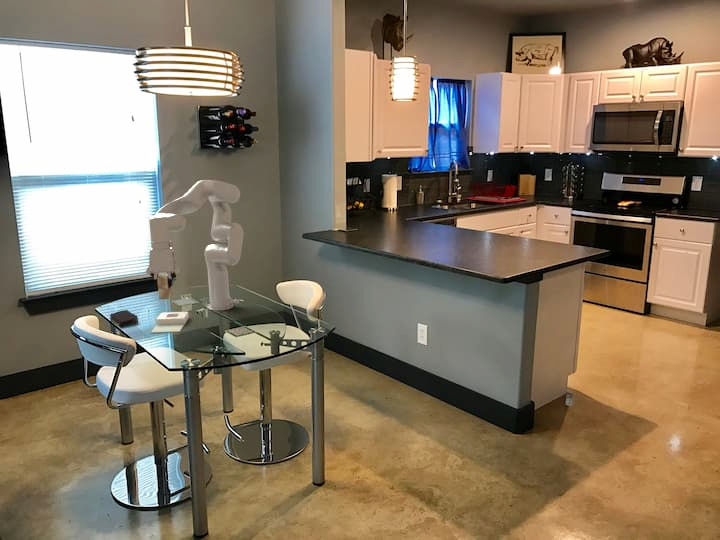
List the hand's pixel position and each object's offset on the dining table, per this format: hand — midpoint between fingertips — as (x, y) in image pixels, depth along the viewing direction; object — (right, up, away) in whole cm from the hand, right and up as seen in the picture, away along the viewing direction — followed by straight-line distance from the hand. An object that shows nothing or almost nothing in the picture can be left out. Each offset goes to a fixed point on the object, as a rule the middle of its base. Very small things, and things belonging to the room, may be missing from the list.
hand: (164, 287), depth 245 cm
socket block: (-1, -17, +15) cm, 22 cm away
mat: (0, -19, +4) cm, 19 cm away
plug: (0, -5, +1) cm, 5 cm away
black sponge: (-24, -17, +16) cm, 33 cm away
